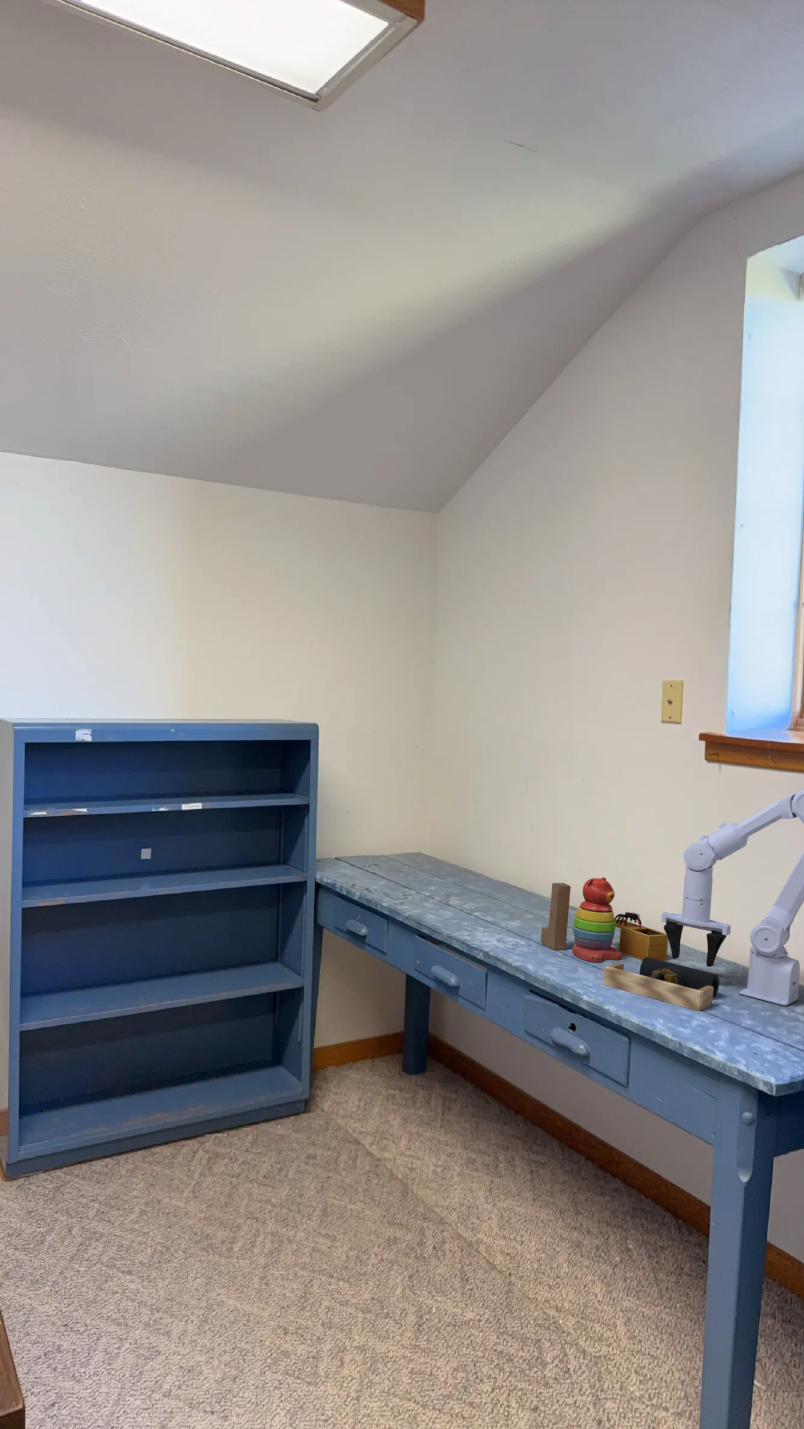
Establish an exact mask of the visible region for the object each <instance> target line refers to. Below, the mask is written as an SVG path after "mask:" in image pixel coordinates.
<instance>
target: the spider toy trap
mask: <svg viewBox="0 0 804 1429" xmlns="http://www.w3.org/2000/svg"><path fill="white" fill-rule="evenodd" d="M640 917H641V916H640V914H638V913H637V912H636V913H635V912H633V911H632V912H629V911H626V912H624V914H623V913H618V914H617V915H616V916H614V921H615V928H618V929H620V931H619V932H620V933H619V942H618V943H619V944H618V951H620V952H621V954H624V955H626V956H629V957H632V958H635V959H637V960H640V961H641V962H642V961H643V959H644V958H645V957H649V958H653V959H658V960H662V961H666V962H668V960H667V958H668V947H669V946H668V945H669V940H668V937H667V934H666V932H662V931H660V930H656V929H652V928H650V927H648V926H644V925H642V920H641V919H640ZM628 919H629V921H628ZM633 922H634V923H633ZM637 923H638V924H637Z"/></svg>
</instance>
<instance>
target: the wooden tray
mask: <svg viewBox="0 0 804 1429" xmlns="http://www.w3.org/2000/svg"><path fill="white" fill-rule="evenodd" d="M624 966H625V963H622V962H615V963H612V964H610V965H607V966H604V967H603V973H602V974H603V975H602V985H603V984H604V986H608V987H611V988H614V987H615V989H617V990H622V991H625V992H629V993H632V994H636V995H639V996H642V997H647V998H650V999H654V1000H658V1001H660V1002H665V1003H669V1004H670V1005H671V1004H672V1005H676V1006H679V1007H683V1008H686V1009H690V1010H692V1011H693V1010H694V1011H698V1012H700V1011H702V1010H704V1009H707V1008H709V1007H710V1006H713V1000H714V998H713V988H714V987H712V986H708V985H707V986H705V987H703V988H701V989H698V990H696V989H692V988H688V987H685V986H681V985H677V984H673V983H669V982H666V981H662V980H658V979H654V978H651V977H647V976H643V975H640V973H636V972H631V971H628V970H625V969H624V968H625V967H624Z"/></svg>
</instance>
